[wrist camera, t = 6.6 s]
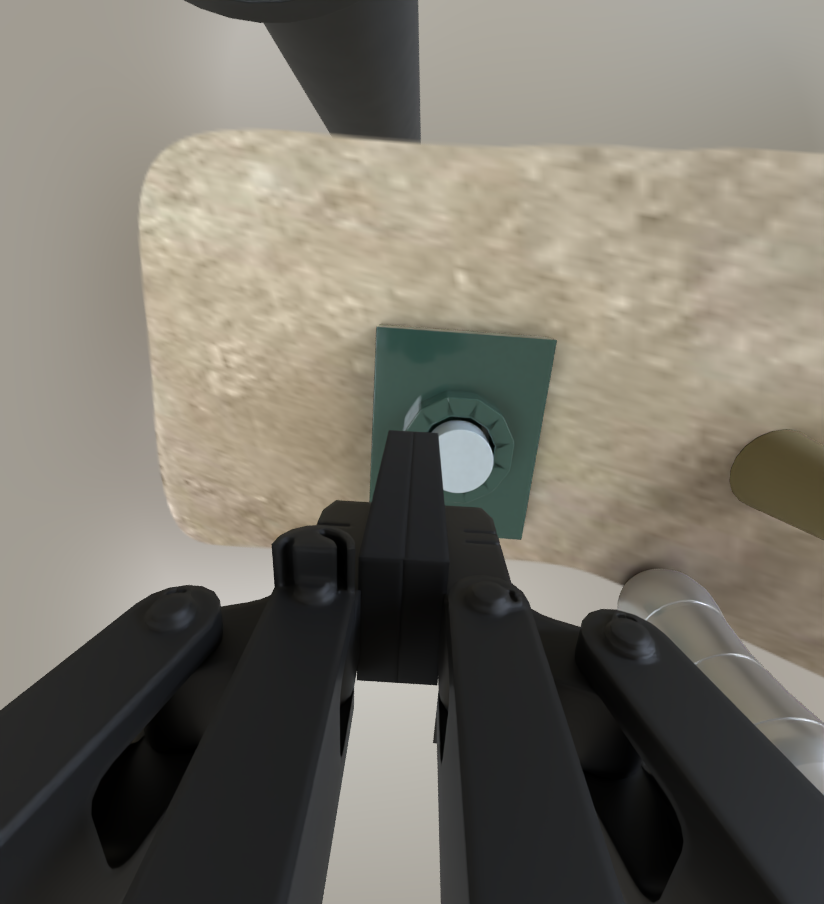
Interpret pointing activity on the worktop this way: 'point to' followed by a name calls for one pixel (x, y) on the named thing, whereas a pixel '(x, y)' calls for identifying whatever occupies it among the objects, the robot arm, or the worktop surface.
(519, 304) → the worktop surface
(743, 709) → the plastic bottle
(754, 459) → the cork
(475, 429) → the white push button
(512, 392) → the green button base
